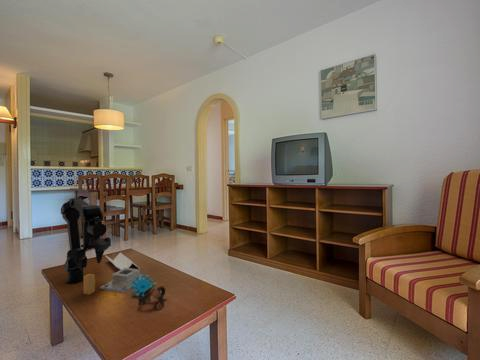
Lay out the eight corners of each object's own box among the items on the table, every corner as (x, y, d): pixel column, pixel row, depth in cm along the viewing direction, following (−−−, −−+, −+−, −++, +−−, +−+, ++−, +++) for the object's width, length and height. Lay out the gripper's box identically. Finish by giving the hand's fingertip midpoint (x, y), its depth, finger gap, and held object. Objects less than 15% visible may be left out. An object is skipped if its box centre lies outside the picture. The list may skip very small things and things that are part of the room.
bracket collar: (100, 289, 115) (99, 277, 115) (127, 274, 132) (127, 264, 132) (124, 292, 111) (124, 281, 111) (149, 277, 128) (149, 266, 128)
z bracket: (120, 266, 156) (127, 257, 159) (132, 278, 138) (140, 268, 140) (105, 255, 151) (112, 247, 154) (116, 266, 132) (124, 257, 135)
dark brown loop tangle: (154, 315, 94) (143, 298, 93) (141, 319, 98) (130, 302, 98) (174, 294, 104) (164, 278, 104) (161, 298, 109) (151, 283, 108)
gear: (130, 297, 104) (131, 274, 110) (128, 302, 107) (129, 280, 114) (157, 294, 109) (156, 273, 116) (154, 299, 113) (153, 278, 119)
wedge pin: (83, 293, 110) (83, 276, 110) (89, 290, 114) (89, 273, 113) (89, 294, 110) (88, 277, 109) (95, 291, 113) (94, 274, 113)
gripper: (86, 239, 100) (87, 276, 101) (119, 229, 118) (120, 261, 119) (65, 237, 103) (66, 273, 104) (101, 228, 121) (101, 259, 122)
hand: (90, 266), depth 112 cm, fingers open, 9 cm apart
